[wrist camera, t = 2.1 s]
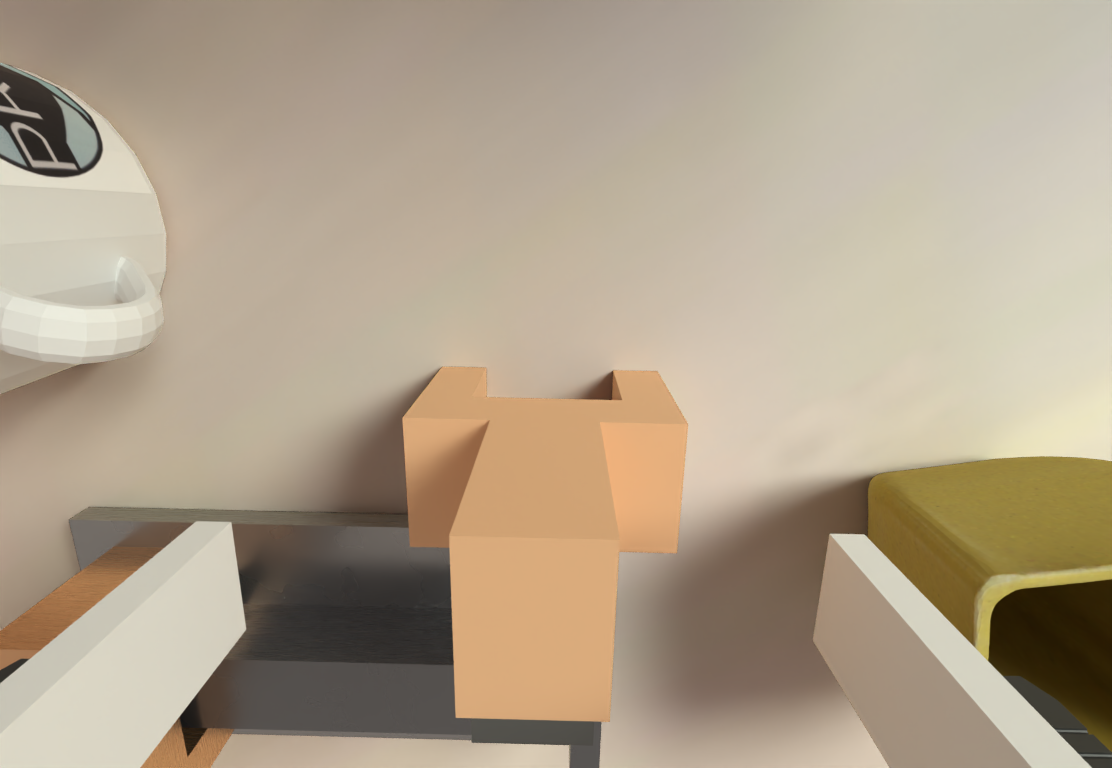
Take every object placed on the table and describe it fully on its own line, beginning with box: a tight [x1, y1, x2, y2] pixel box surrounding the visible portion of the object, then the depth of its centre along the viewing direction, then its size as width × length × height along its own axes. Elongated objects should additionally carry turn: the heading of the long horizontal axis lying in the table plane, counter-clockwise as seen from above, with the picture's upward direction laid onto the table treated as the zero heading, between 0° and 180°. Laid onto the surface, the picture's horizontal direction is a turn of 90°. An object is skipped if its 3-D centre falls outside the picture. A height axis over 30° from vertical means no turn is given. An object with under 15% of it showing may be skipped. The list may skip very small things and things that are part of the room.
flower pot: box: [868, 457, 1112, 752], centre depth 19 cm, size 9×9×9 cm
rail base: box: [0, 507, 601, 768], centre depth 19 cm, size 10×20×12 cm, turn 89°
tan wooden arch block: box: [402, 367, 688, 746], centre depth 17 cm, size 8×5×12 cm, turn 89°
